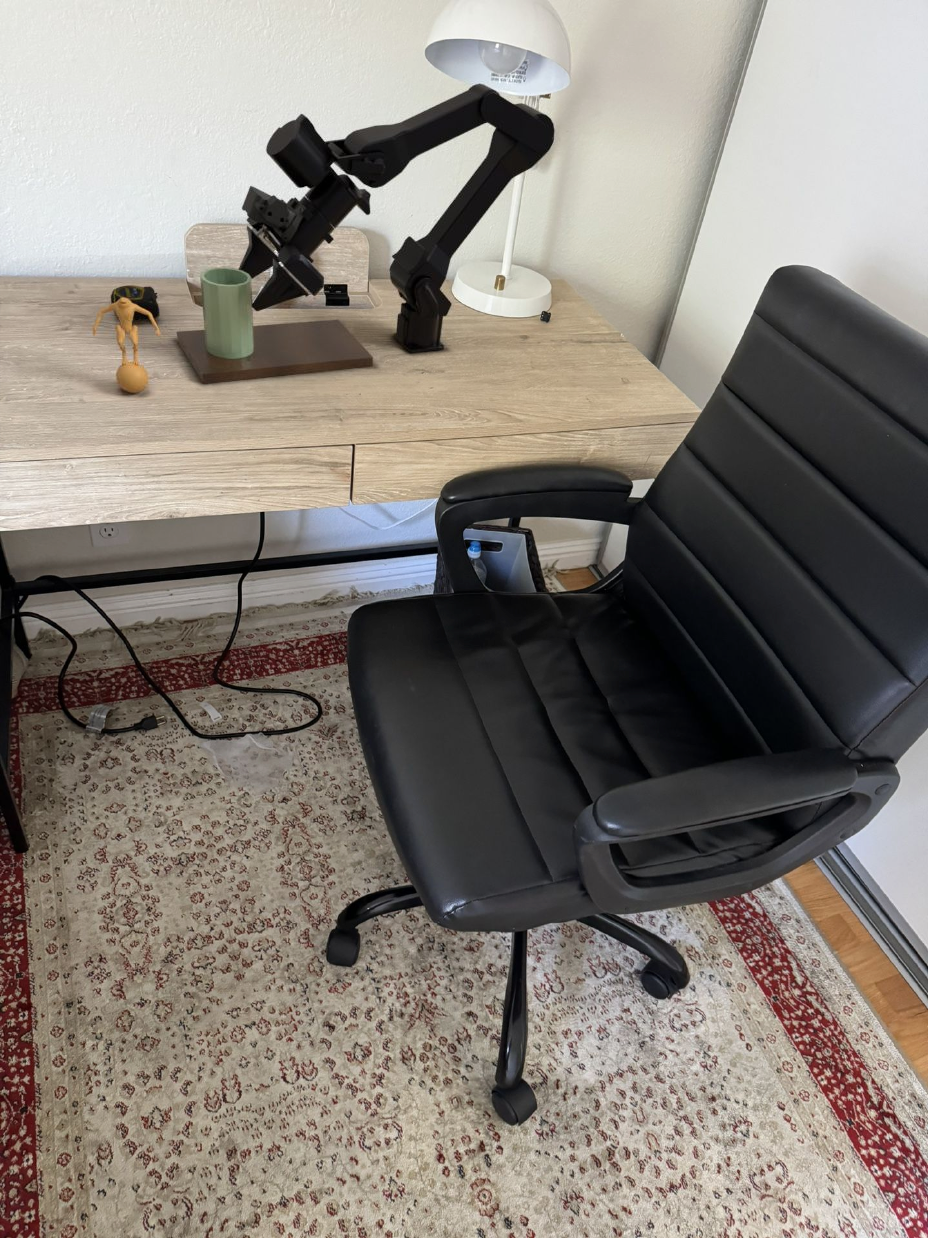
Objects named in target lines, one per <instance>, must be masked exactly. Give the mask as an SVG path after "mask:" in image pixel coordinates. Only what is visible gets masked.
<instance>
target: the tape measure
mask: <svg viewBox="0 0 928 1238" xmlns="http://www.w3.org/2000/svg"><path fill="white" fill-rule="evenodd" d="M121 297H123V298H127V299H129V300H130V301H131V302H132V303H133V304H136V305H138V306H139V307H141V308H143V309H145V310H147V311H149V312H150V313H151V314H152V316H153V319H154V320H155V319H157V318H159V316H160V307H159V303H158V301H157V299H158V292H155V289H154V288H153V287H152V286H139V285H132V284H131V285H130V284H129V285H121V286H117V287H115V288H114V289H113V290H112V292H111V295H110V305H111V304H112V303H116V302H117V301H118V300H119V299H120V298H121ZM113 312H114V314H116V311H115V310H113ZM146 320H150V318H149V316H148V315H145V314H143V313H140V312H137V311H134V316H133V320H132V321H146Z"/></svg>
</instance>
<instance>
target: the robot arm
mask: <svg viewBox="0 0 928 1238" xmlns="http://www.w3.org/2000/svg"><path fill="white" fill-rule="evenodd" d="M485 124H488V125H490V126H492V127H494V128H495V129H494V130H493V132H492V136H491V140H490V144H489V148H488V152H487V154H486V156H485V158H484V159H483V161H482V162H481V163H480V165H478V167H477V168H476V170H475V171H474V172H473V174H472V175H471V176H470V177H469V179H468V180H467V182H466V183H465V184H464V185H463V186H462V188H461V190H459V192H458V194H456V196H455V198H454V199H453V200H452V202H450V204H449V206H447V208H446V210H445V211H444V212H443V213H442V215H441V216H440V218H439V219H438V220H437V222H435V224H434V225H433V226H432V228H431V229H430V231H429V232H428V233H427V234H426V235H425V236H423V237H421V238H420V239H417V240H415V239H414V238H413V237H412V236H410V235H408V236H407V237H406V238H405V239H404V242H403V243H402V244H401V247H400V248H399V249H398V250H397V251H396V252H395V253H394V254H392V255H391V258H392V259H393V261H392V262H391V264H390V266H389V269H388V270H389V280H390V282H391V284H392V285H393V286H394V288H395V289H396V290H397V292H398V296H399V297H400V298H401V299H402V300H404V302H401V303H400V312H399V313H398V314H397V317H396V318H397V319H396V329H395V330H396V331H395V333H393V338H395V339H396V341H398V342H399V343H400V344H401V346H403V348H404V349H406V351H407V352H409V353H420V352H421V353H422V352H430V351H441V350H445V345H444V344H443V343H442V342H441V339H442V338H441V336H442V329H443V328H442V327H443V322H444V317H447V316H448V314H449V312H450V309H451V307H452V305H453V304H452V302H451V300H449V298H448V297H447V296H446V295H445V293H444V292H443V291H442V289H441V288H442V286H443V284H444V283H445V281H446V279H447V276H448V272H449V268H450V264H451V260H452V258H453V256H454V255H455V253H456V252H457V251H458V250H459V248H460V247H461V245H462V244H463V243H464V242H465V240H467V239H468V237H469V235H471V233H472V231H473V230H474V229H475V228H476V227H477V226H478V224H479V222H480V221H481V220H482V218H483V217H484V216H485V215H486V214H487V212H488V211H489V210H490V208H491V207H492V206H493V205H494V203H495V201H497V199H498V198H499V197H500V195H501V194H502V193H503V191H504V190H505V189H506V188H507V186H508V185H509V183H510V182H511V181H512V180H513V179H514V178H516V177H517V176H520V175H521V174H523V173H525V172H527V171H529V170H531V169H532V168H534V167H535V166H536V165H537V164H538V162H540V161H541V160H542V159H543V158H544V157H545V156H546V155H548V153H549V152H550V150H551V149H552V147H553V145H554V142H555V141H556V140H555V132H556V131H555V124H554V122H553V120H552V118H551V117H550V116H549V115H547V114H546V113H544V112H542V111H540V110H538V109H536V108H534V107H533V106H530V105H528V104H525V103H523V102H521V103H520V102H519V103H513V102H511V101H510V100H508V99H507V98H504V97H503V96H502V95H501V94H500V93H499V91H497V90H495V89H494V88H491V87H490V86H488V85H486V84H483V83H475V84H473V85H472V86H471V87H469V88H468V89H467V90H465V91H463V92H461V93H458V94H457V95H455V96H452V97H450V98H449V99H446V100H445V101H442V102H440V103H438V104H435V105H434V106H431V107H429V108H427V109H426V110H423V111H420V112H419V113H417V114H415V115H412V116H411V117H408V118H407V119H404V120H402V121H400V122H396V123H392V124H378V125H371V126H368V127H364V128H360V129H356V130H353V131H352V132H350V133H349V134H348V135H347V136H346V137H345V138H340V139H334V140H333V139H332V140H326V141H325V140H324V139H323V138H322V136H321V135H320V133H318V131H317V130H316V127H315V126H314V124H313V123H312V121H311V120H310V119H309V118H308V117H307V116H306V115H305V114H304V113H300V114H299V115H298V116H297V117H296V119H293V120H290V121H288V122H287V123H285V124H283V125H282V126H281V127H280V126H279V127H277V129H276V130H275V131H274V132H273V133H272V135H271V136H270V138H269V139H268V143H267V144H266V149H265V152H266V154H267V155H268V156H269V157H270V158H271V160H272V161H273V162H274V163H275V164H276V166H278V168H279V169H280V170H281V171H282V172H283V173H284V174H285V175H286V176H287V177H288V179H289V180H290V181H291V182H292V184H294V186H295V187H296V188H299V189H303V188H308V191H307V192H306V193H305V194H304V195H303V196H302V198H301V199H300V200H299V199H298V198H297V197H296V196H295V197H291V198H289V200H288V201H287V202H286V201H285V200H284V199H280V198H278V197H277V196H276V195H274V194H273V195H270V194H268V193H267V192H265V191H263V190H261V189H259V188H257V187H255V186H253V185H250V186H249V188H248V191H247V194H246V196H245V198H244V201H243V203H242V207H241V210H242V211H244V212H246V217H247V218H246V222H247V223H248V224H249V225H250V226H249V225H246V231H247V238H248V245H247V248H246V251H245V253H244V256H243V258H242V259H241V263H240V265H239V267H238V268H237V269H238V270H242V271H244V272H246V273H248V274H249V275H250V276H251V278H252V280H253V279H254V278H255V277H258V276H259V275H261V274H262V273H264V272H265V271H267V270H269V269H271V268H272V273H271V275H270V277H269V278H268V280H267V281H266V283H265V284H264V286H263V287H262V288H261V290H260V291H259V292H258V294H257V295H256V297H255V299H254V300H253V301H252V305H251V306H252V308H253V311H255V312H260V311H263V310H265V309H268V308H271V307H274V306H275V305H279V304H282V303H284V302H287V301H291V300H294V299H298V298H301V297H309V296H310V294H311V295H312V296H314V297H316V296H317V295H318V294H319V293H320V291H322V289H323V288H324V287H325V276H324V275H323V274H322V273H321V272H320V271H319V269H317V268H316V267H315V265H314V264H313V263H314V261H315V260H314V259H313V258H312V257H311V256H312V255H313V254H314V253H315V252H316V251H317V249H318V248H319V247H320V246H321V245H322V244H323V243H324V242H326V244H328V245H330V244H331V243H332V242H333V241H334V240H335V238H334V237H333V236H332V235H331V234H332V233H333V232H334V231H335V230H336V228H338V227H339V225H340V224H341V223H342V222H343V221H344V220H345V219H346V218H347V216H349V214H351V212H352V211H353V210H354V209H355V208H356V207H357V208H358V209H359V210H360V211H361V212H362V213H364V214H365V215H366V216H369V215H370V214H371V203H370V202H371V197H372V194H371V193H370V192H369V191H368V190H367V189H365V188H359V187H358V186H357V184H356V183H355V181H353V180H352V179H351V177H350V176H352V177H355V178H356V179H357V180H358V181H359V182H360V183H361V184H363V185H364V186H367V187H369V188H371V189H378V188H382V187H384V186H385V185H387V184H388V183H390V182H392V180H394V179H395V178H397V177H398V176H400V174H402V173H403V172H404V171H405V169H406V168H407V166H409V164H410V162H412V161H413V160H414V159H415V158H417V157H419V156H421V155H422V154H425V153H428V152H429V151H431V150H433V149H435V148H437V147H439V146H441V145H444V144H445V143H448V142H450V141H451V140H454V139H456V138H457V137H460V136H462V135H464V134H466V133H469V132H470V131H472V130H474V129H476V128H479V127H481V126H482V125H485ZM333 164H334V165H335V166H336V167H338V168H339V169H340V170H341V171H343V172H344V173H341V174H338V173H337V172H336V171H335V170H334V168H333V167H332V165H333ZM276 252H277V253H278V254H276ZM281 264H282V265H281Z"/></svg>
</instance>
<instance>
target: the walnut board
mask: <svg viewBox="0 0 928 1238" xmlns="http://www.w3.org/2000/svg"><path fill="white" fill-rule="evenodd" d="M253 329H254V351H253V353H252V354H251V355H249V356H247V357H243V358H238V359H227V358H221V357H217V356H214V355H212V354H211V353H209V352H208V351H207V349H206V343H205V331H204V329H193V330H181V331H180V330H179V331H176V339H177V340H176V341H177V342H178V344H179V346H180V348H181V350H182V351H183V352H184V354H185V356H186V358H187V359H188V361H189V362H190V364H191V366H192V368H193V370H194V371H195V373H196V374H197V376H198V378H199V379H200V381H201V382H202V384H203V385H205V384H213V383H214V384H215V383H222V382H224V383H225V382H232V381H242V380H243V381H244V380H253V379H263V378H271V377H280V376H290V375H291V376H292V375H301V374H310V373H319V372H329V371H338V370H347V369H357V368H366V367H367V368H369V367H373V362H374V357H373V355H372V354H371V353H370V352H369V351H368V350H367V349H366V347H364V346H363V344H362V343H361V342H360V341H359V339H357V338H356V336H354V334H352V332H351V331H350V330H349V329H348V328H347V327H346V326H345V325H344V324H343V323H342V322H341V320H340V319H327V320H314V321H299V322H286V323H273V324H261V325H253Z"/></svg>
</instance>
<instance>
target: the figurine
mask: <svg viewBox="0 0 928 1238" xmlns="http://www.w3.org/2000/svg"><path fill="white" fill-rule="evenodd" d="M114 310H115V311H116V313H115V315H116V316H117V318H118V320H119V322H120V324H116V325H115V331H116V341H117V345H118V347H119V350H120V351H121V356H122V362H121V365H119V366H118V368H117V370H116V373H115V378H116V381H117V384H118V385H119V387H120V388H121V389H122V390H124V391H126V392H128V393H131V394H137V393H140V392H142V391H143V390H145V389H146V387H147V385H148V384H149V383H148V382H149V375H148V372H147V370H146V369H145V368H144V366H142V365H141V364H140V363H139V358H138V357H139V356H138V350H139V346H138V344H139V335H138V334H139V327H138V326H137V325H133V321H134V320H133V316H134V311H137V312H140V313H143V314H145V315H148V316H149V318H150V319H149V320H150V322H151V324H152V326H153V328H154V329H155V330H156V331H155V335H157V338H158V339H160V338H162V333H161V331H160V328H159V327H158V324H157V322H156V321H155V318H154V319H153V316H152V314H151V313H150V312H149V311H147V310H145V309H143V308H141V307H139V306H138V305H136V304H133V303H132V302H131V301H130V300H129V299H127V298H123V297H121V298H120V299H119V300H118V301H117V302H116V303H112V304H111V303H110V304H109V305H107V306H105V307H103V308H101V309H100V310H99V311H98V313H97V317H96V319H95V321H94V325H93V327H92V335H93V336H94V337H96V335H97V333H98V330H97V327H98V326H99V324H100V322H101V319H102V317H103V314H107V313H110V312H112V311H114ZM126 334H128V338H129V340H130V341H131V343H132V345H133V346H132V350H133V360H132V361H128V358H127V351H126V346H125V345H124V342H125V341H126Z"/></svg>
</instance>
